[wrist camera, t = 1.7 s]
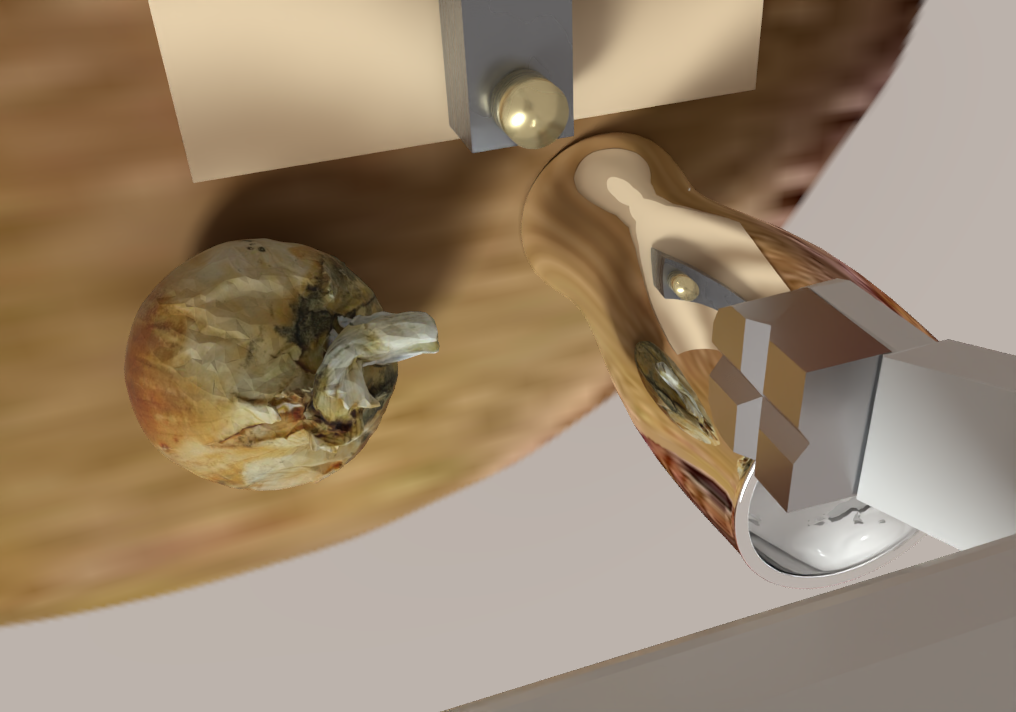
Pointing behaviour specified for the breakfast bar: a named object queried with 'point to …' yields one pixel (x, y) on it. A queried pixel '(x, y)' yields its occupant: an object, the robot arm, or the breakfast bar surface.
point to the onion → (266, 363)
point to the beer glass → (693, 338)
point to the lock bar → (508, 71)
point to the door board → (410, 71)
